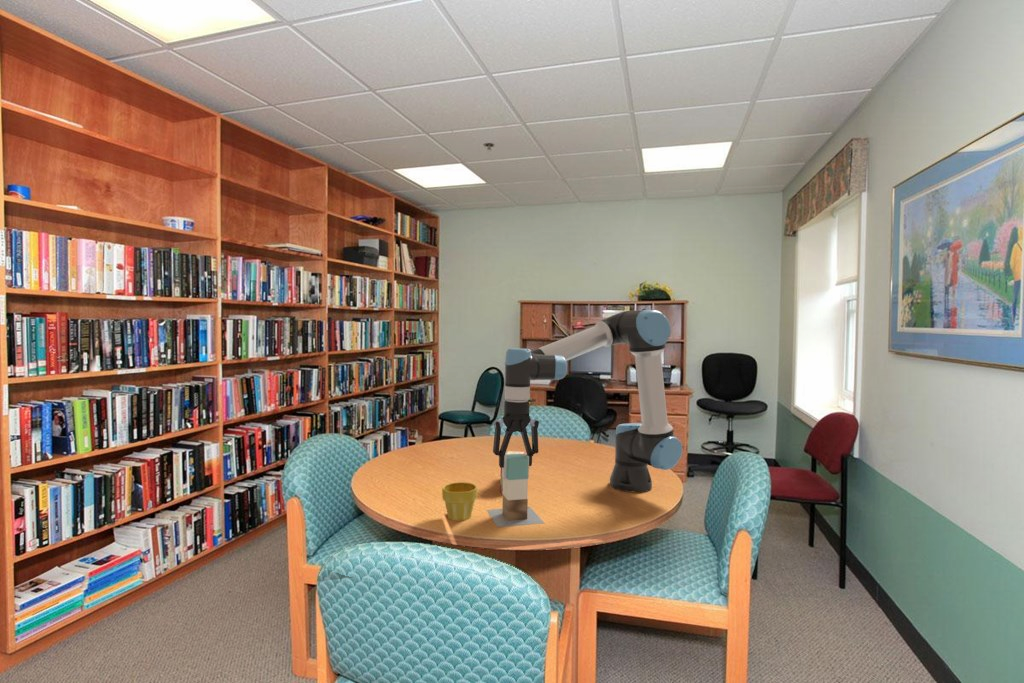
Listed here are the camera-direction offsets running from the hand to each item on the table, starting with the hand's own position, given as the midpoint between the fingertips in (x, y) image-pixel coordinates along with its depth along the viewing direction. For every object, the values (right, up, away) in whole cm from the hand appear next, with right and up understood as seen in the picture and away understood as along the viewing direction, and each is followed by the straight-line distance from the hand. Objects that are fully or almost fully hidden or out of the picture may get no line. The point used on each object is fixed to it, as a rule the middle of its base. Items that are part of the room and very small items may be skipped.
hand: (515, 477), depth 151 cm
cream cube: (0, -6, 0) cm, 6 cm away
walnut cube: (0, -12, 0) cm, 12 cm away
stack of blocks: (0, -12, +34) cm, 36 cm away
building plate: (0, -13, 0) cm, 13 cm away
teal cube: (0, 0, 0) cm, 0 cm away
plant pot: (-17, -13, 0) cm, 21 cm away
